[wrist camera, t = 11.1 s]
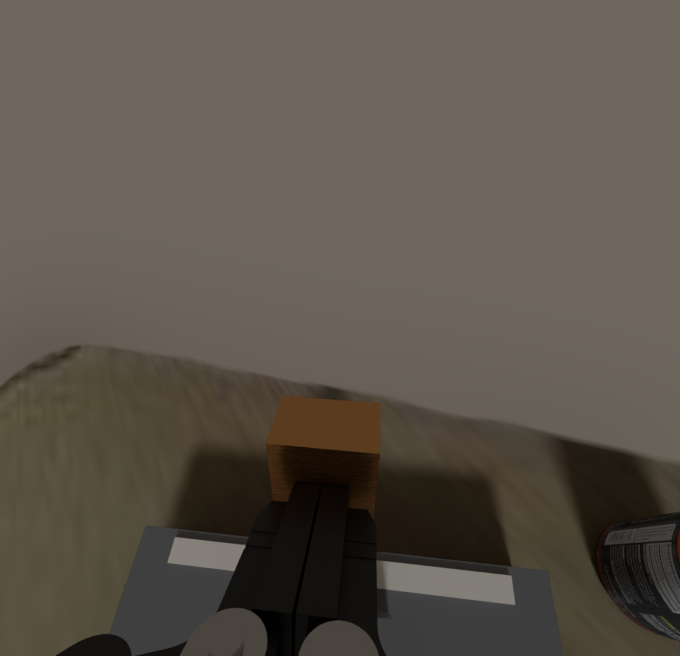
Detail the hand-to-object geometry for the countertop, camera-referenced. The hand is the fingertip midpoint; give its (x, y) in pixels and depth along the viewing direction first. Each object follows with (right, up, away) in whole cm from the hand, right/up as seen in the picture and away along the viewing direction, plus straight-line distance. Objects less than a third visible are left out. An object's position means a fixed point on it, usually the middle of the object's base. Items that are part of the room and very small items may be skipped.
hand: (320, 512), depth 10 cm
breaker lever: (0, -10, +7) cm, 12 cm away
